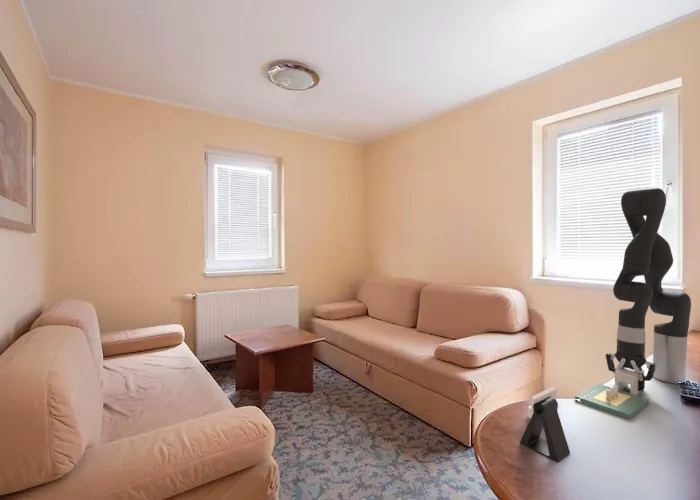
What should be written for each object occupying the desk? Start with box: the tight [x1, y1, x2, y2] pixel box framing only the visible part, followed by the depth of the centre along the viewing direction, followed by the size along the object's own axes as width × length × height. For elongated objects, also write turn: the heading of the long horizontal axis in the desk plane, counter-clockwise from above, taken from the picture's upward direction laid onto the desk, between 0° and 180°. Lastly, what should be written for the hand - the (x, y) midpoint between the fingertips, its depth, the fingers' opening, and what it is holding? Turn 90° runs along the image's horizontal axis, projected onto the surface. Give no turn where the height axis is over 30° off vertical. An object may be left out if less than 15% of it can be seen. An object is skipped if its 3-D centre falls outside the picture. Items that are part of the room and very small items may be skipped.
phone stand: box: [519, 397, 571, 463], centre depth 83 cm, size 9×6×12 cm, turn 34°
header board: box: [574, 383, 650, 421], centre depth 108 cm, size 18×14×4 cm
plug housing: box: [614, 368, 645, 395], centre depth 117 cm, size 10×5×7 cm, turn 125°
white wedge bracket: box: [527, 386, 557, 420], centre depth 96 cm, size 4×10×9 cm, turn 84°
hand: (629, 387), depth 117 cm, fingers closed on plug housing, 5 cm apart
